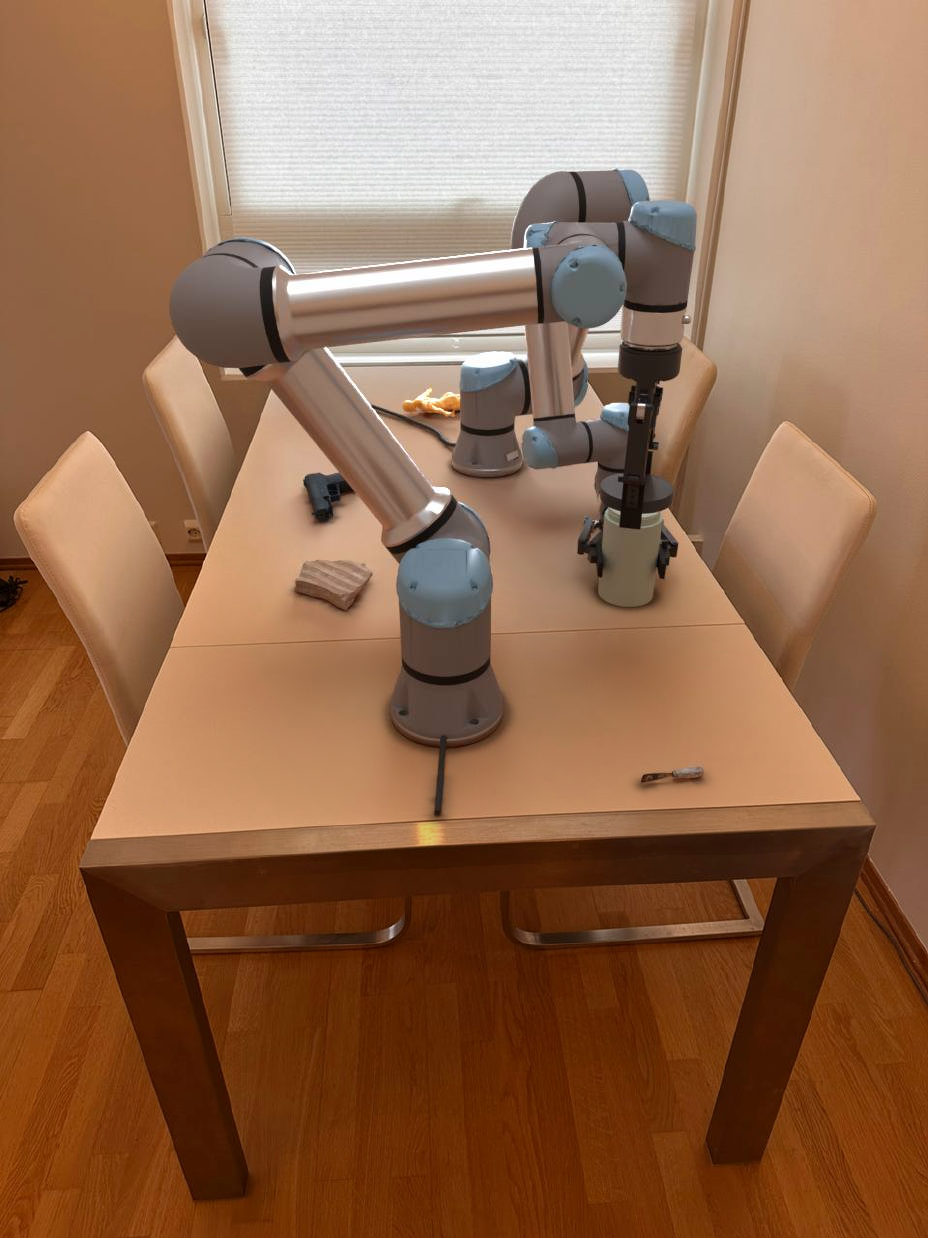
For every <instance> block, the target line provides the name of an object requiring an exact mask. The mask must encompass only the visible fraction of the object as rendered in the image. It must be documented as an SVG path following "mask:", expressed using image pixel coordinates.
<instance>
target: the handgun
mask: <svg viewBox="0 0 928 1238" xmlns="http://www.w3.org/2000/svg"><path fill="white" fill-rule="evenodd" d="M302 482H303V486H304V488H305V489H306V492H307V494H308V498H309V502H310V505H311V507H312V510H313V511H312V512H311V516H315V520H316V521H318V522H321V523H323V522H328V521H329V520H330V516H331V518H333V517H334V506H333V503H337V502H339V501H341V495H344V494H348V493H351V492H352V493H353V492H355V491H354V490H353V489H352V488H351V486H350V485H349V484H348V483H347V482H346V480H345V479H344V478H343V477H342V475H341V474H340V473H339V472H335V473H332V474H323V472H313V473H308V474H306V475H305V476H304V479H302Z"/></svg>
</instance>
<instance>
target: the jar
mask: <svg viewBox="0 0 928 1238" xmlns="http://www.w3.org/2000/svg"><path fill="white" fill-rule="evenodd" d="M661 512H662V511H660V512H656V513H649V514H642V520H641V528H640V530H638V529H629V528H620V527H619V523H620V513H621V511H617V510H614V509H612V508H610V507H608V509H607V510H606V511H605V517H604V528H603V540H602V554H603V561H604V564H603V576H602V578H598V586H597V593H598V596H599V598H601V600H602V601H605V602H606V603H609V604H611V605H613V606H617V607H622V608H637V607H641V606H644V605H646V604H648V603H650V602H651V601H652V600H653V598H654V592H655V591H654V590H655V583H656V575H657V560H658V552H659V544H660V536H661V528H662V520H664V519H663V518H664V517H663V515H662V513H661Z"/></svg>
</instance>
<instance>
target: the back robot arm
mask: <svg viewBox="0 0 928 1238" xmlns="http://www.w3.org/2000/svg"><path fill="white" fill-rule="evenodd" d="M650 199H651V198H650V193H649V190H648V186H647V183H646V181H645V180H644V178H643V176H642V175H641V174H640V173H639V172H638V171H636V170H634V169H621V168H620V169H619V168H617V167H613V168H612V169H610V170H584V171H583V170H578V171H577V170H575V171H574V170H573V171H567V170H560V171H559V170H558V171H555V172H550V173H548V174H546V175H544V176H542V177H541V178H539V179H538V180H537V181H536V182H535V183H534V184H533V185H531V187H530V188H529V189H528V191H527V192H526V193H525V195H524V196H523V198H522V200H521V202H520V204H519V206H518V208H517V211H516V213H515V217H514V220H513V224H512V227H511V234H510V235H511V236H510V250H515V249H524V238H525V232H526V230H527V228H528V227H529V226H530V225H532V224H539V223H551V222H553V221H558V222H567V223H616V222H622V221H628V219H629V216H630V214H631V209H632V207H633V205H634V204H636V203H638V202H642V201H651V200H650ZM523 328H524V338H525V349H526V357H524V358H517V357H516V355H515V354H513V353H512V352H509V351H489V352H483V353H479V354H475V355H474V356H470V357H469V358H468V359H466V360H465V361H463V363H462V365H461V367H460V372H459V373H460V375H459V382H458V388H459V394H460V410H459V418H460V419H459V422H460V423H459V428H460V429H459V433H458V437H457V440H456V442H452V441H449V440H448V439H446V438H445V436H444V435H443V433H442V432H441V431H439V430H438V429H436V428H435V427H433V426H431V425H429V424H426V423H423V422H421V421H418V420H416V419H414V418H412V417H409V416H406V415H404V414H402V413H398V412H395V411H393V410H390V409H388V408H384V407H382V406H379V405H376V404H374V403H373V404H372V403H370V402H369V404H370V405H371V406H372V408H373V409H374V410H375V411H376V410H377V411H380V412H382V413H385V414H388V415H391V416H393V417H396V418H399V419H401V420H404V421H406V422H409V423H411V424H414V425H416V426H418V427H421V428H424V429H426V430H428V431H430V432H431V433H434V434H435V435H437V436H438V437H439V439H440V440H441V441H442V442H443V444H445V445H446V446H449V447H452V448H454V449H453V452H452V455H451V466H452V467H453V469H454V470H456V471H457V472H458V473H461V474H463V475H466V476H470V477H476V478H498V477H499V478H500V477H505V476H508V475H512V474H514V473H516V472H518V471H519V470H520V469H521V468H522V465H523V459H524V462H525V463H526V465H527V466H528V467H529V468H531V469H533V470H546V469H553V470H554V469H555V470H556V469H558V468H561V467H568V466H569V467H570V466H574V465H582V464H590V463H591V464H592V463H596V462H597V468H596V471H595V476H594V484H593V486H594V490H595V493H596V499H597V500H596V501H597V507H598V514H599V515H598V516H599V519H598V520H596V519H592V517H591V516H587V515H586V516H584V517H583V525H582V526H583V527H582V529H581V531H580V534H579V536H578V538H577V546H576V547H577V548H576V554H577V555H579V556H583V555H585V554H587V561H588V562H589V564H592V565H593V564H595V568H596V576H597V577H596V578H598V579H599V578H602V576H603V564H604V561H603V554H602V540H603V528H604V517H605V511H606V510H607V509H608V506H606V505H605V504H604V503H603V502H602V501H601V499H600V488H601V482H602V481H603V480H604V479H605V478H607V477H609V476H612V475H615V474H620V473H624V467H625V458H626V449H627V441H628V432H629V426H628V414H629V407H630V406H629V404H628V402H612V403H609V404H606V405H604V406H603V408H602V409H601V413H600V414H599V415H600V418H596V419H595V418H594V419H589V420H580V421H577V420H576V419H577V418H576V408H577V407H578V406H580V405H581V404H582V402H583V401H584V399H585V397H586V395H587V392H588V388H589V383H588V380H589V379H590V373H589V367H588V363H587V362H586V360H585V358H584V355H583V353H582V351H583V347H584V345H585V341H586V339H587V336H588V333H589V330H590V328H589V329H586V328H579V327H576V326H573V325H571V324H568V323H567V322H555V323H542V324H533V325H524V326H523ZM528 415H532V420H533V421H532V423H533V426H531V427H526V428H525V430H523V433H522V435H521V441H522V442H521V448H520V443H519V441H518V438H517V434H516V430H515V424H516V423H515V421H516V417H521V416H528ZM664 523H665V519H663V520H662V528H661V536H660V544H659V552H658V560H657V568H656V571H657V575H658V579H659V580H665V579H666V571H667V567H669V566H670V562H671V558H673V559H674V558H677V556H678V551H679V543H680V542H679V541H678V540H677V539H676V538H675V536H674V535H673V534H672V533H671V531H670V530H669V529H668V528H667V526H666V525H665V524H664ZM597 529H598V530H599V531H598V533H597V534H595V536H593V538H592V534H594V533H595V531H596V530H597Z"/></svg>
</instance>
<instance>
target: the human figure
mask: <svg viewBox="0 0 928 1238" xmlns="http://www.w3.org/2000/svg"><path fill="white" fill-rule="evenodd" d="M424 391H425V392H423V393H422V394H420V395H418V396H416V398H415V399H414V400H404V401H403V402H402V411H404V412H405V413H410V414H412V413H414V412H417V408H418V409H420V410H421V411H423V412H424V413H427V414H439V415H443V416H444V417H449V416H450V417H451V418H452V417H453V418H454V417H455V416H456V414H455V411H460V393H457V394H455V393H453V392H446V393H444V394H443V395H442V396H441V397H440V398H434V397H429V396H430V395H432V394H433V392H434V391H433V389H432V385H429V387H428V389H424ZM450 410H452V411H450Z"/></svg>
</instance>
